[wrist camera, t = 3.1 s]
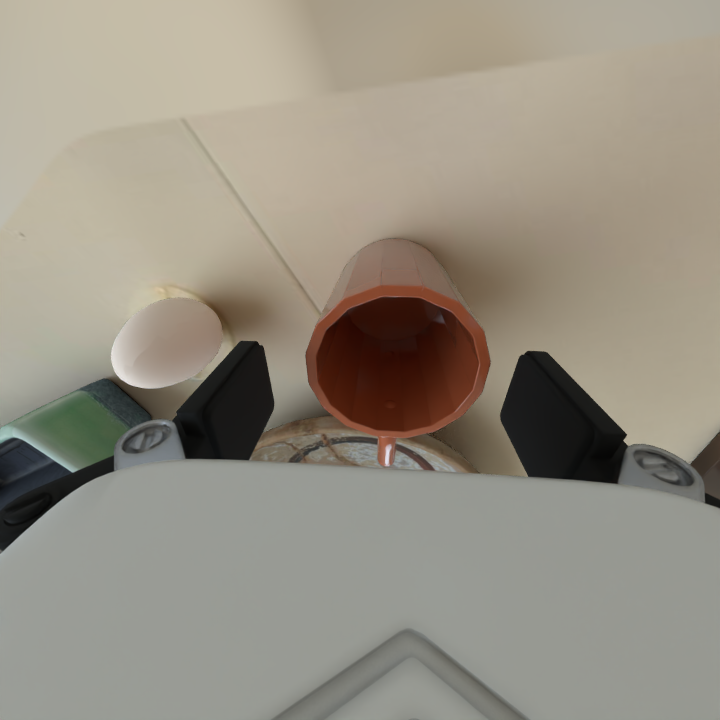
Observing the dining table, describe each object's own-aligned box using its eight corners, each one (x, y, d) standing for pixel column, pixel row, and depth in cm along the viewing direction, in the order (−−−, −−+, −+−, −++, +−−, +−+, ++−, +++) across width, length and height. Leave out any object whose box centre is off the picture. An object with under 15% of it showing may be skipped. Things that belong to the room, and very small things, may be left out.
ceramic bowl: (453, 350, 20) (471, 394, 16) (499, 530, 31) (516, 585, 27) (193, 421, 26) (156, 467, 22) (308, 552, 37) (298, 600, 33)
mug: (337, 237, 17) (297, 282, 9) (455, 239, 17) (512, 288, 9) (342, 384, 23) (319, 487, 15) (430, 388, 22) (453, 497, 15)
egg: (159, 309, 21) (59, 365, 14) (198, 270, 19) (104, 314, 13) (211, 356, 22) (143, 424, 16) (251, 324, 21) (192, 387, 14)
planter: (19, 490, 35) (-59, 556, 29) (-45, 453, 32) (-147, 517, 26) (174, 420, 26) (109, 492, 20) (106, 359, 23) (7, 423, 17)
